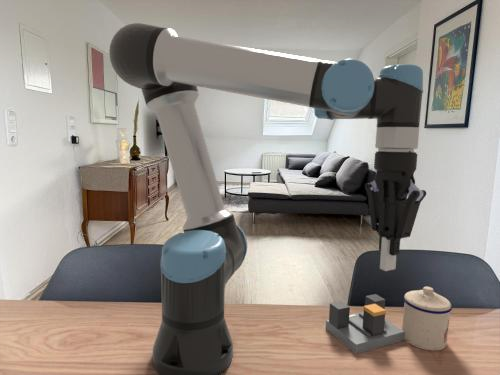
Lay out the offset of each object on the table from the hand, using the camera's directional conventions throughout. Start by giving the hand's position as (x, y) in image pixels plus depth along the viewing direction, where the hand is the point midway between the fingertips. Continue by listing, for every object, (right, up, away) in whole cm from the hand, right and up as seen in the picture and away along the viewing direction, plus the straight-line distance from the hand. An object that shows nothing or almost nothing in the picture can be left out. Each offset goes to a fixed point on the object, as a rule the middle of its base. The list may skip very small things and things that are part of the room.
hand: (387, 268), depth 69 cm
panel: (-3, -16, +6) cm, 17 cm away
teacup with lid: (+10, -16, +6) cm, 20 cm away
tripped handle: (-2, -14, +4) cm, 15 cm away
